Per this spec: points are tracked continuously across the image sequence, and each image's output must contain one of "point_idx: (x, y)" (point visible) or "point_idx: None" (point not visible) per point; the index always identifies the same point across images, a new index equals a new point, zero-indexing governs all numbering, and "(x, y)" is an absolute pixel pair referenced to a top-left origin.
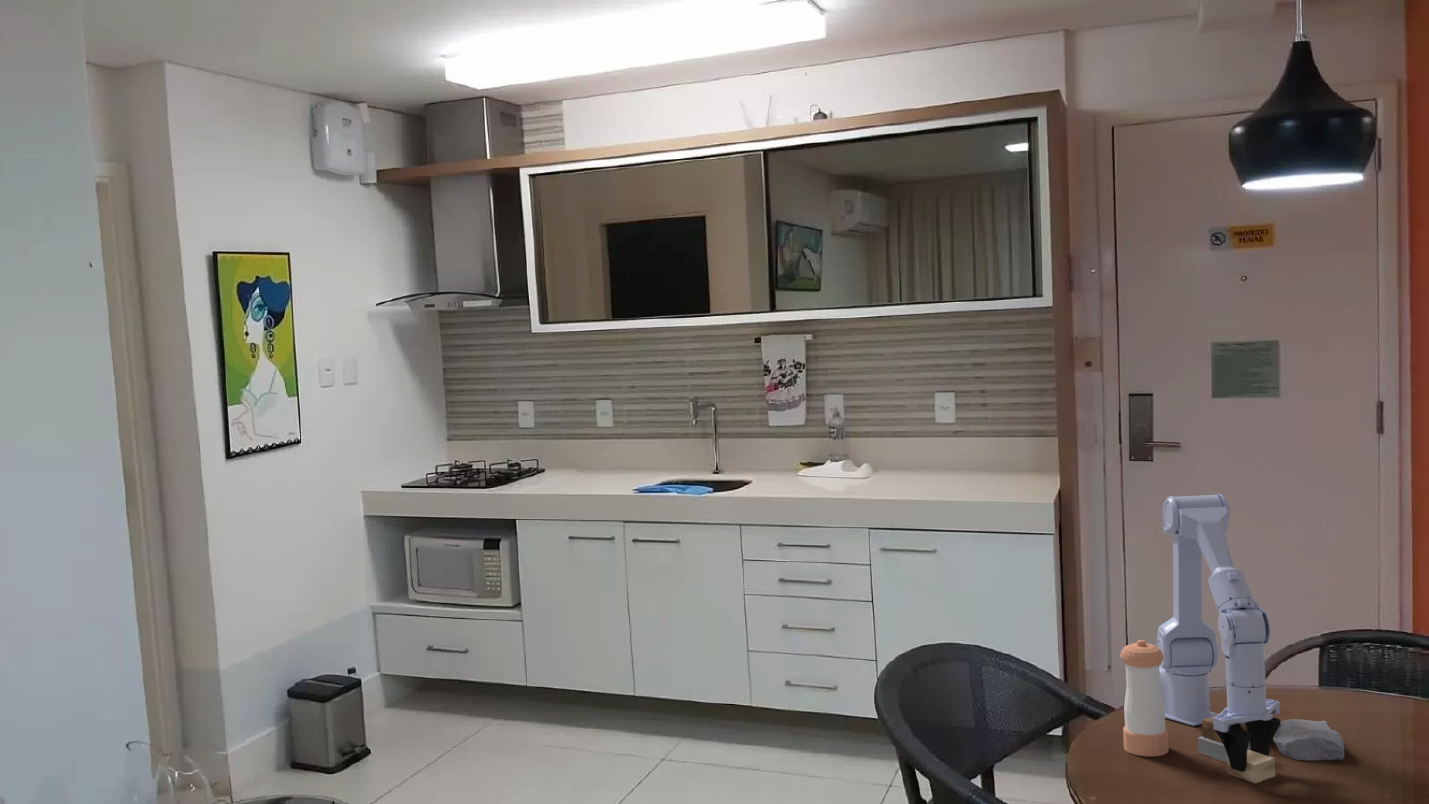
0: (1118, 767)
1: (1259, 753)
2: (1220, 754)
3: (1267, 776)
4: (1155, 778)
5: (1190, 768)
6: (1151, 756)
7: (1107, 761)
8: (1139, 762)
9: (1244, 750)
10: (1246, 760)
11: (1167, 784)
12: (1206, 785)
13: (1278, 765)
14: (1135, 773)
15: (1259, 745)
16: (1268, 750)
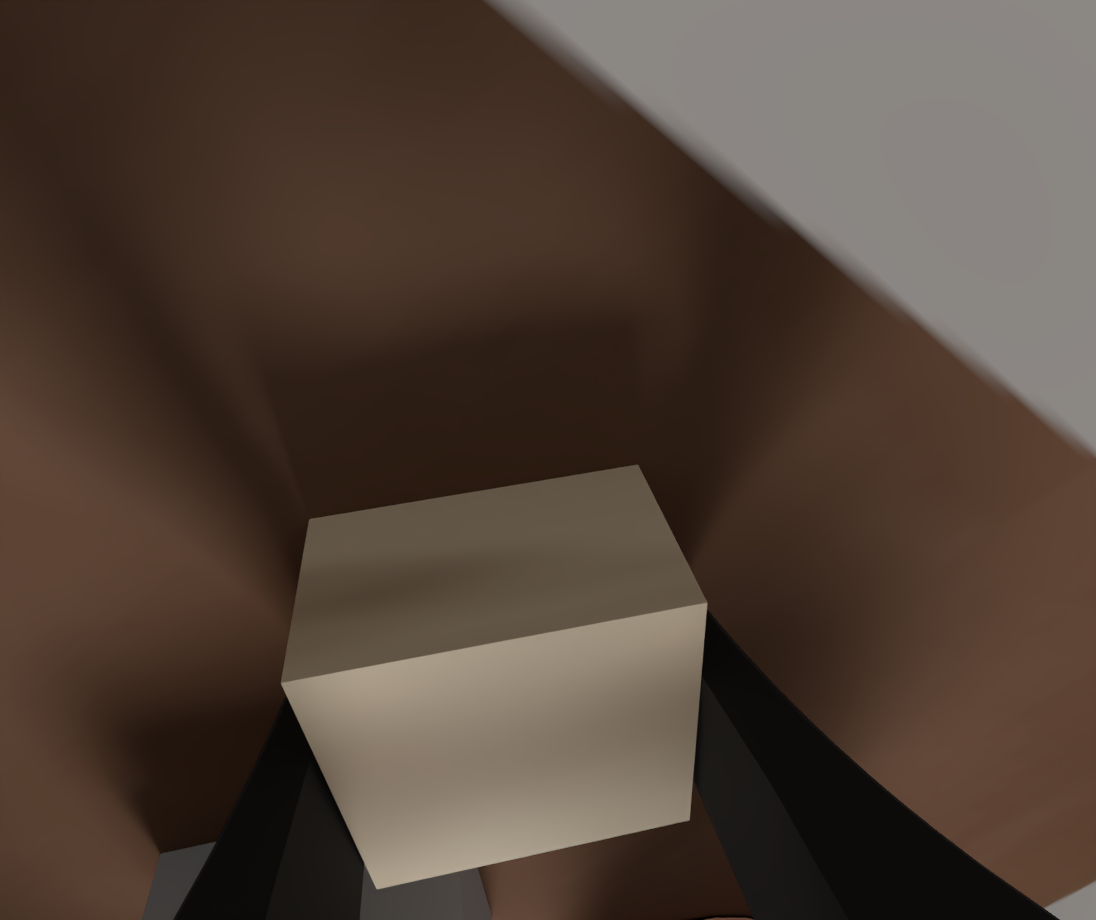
0: (986, 859)
1: (344, 806)
2: (470, 880)
3: (443, 514)
4: (1029, 737)
5: None
6: (748, 918)
7: None
8: None
9: (869, 815)
10: (716, 698)
11: (1087, 663)
12: (959, 576)
13: (74, 681)
14: (1017, 800)
15: (317, 914)
16: (255, 821)
